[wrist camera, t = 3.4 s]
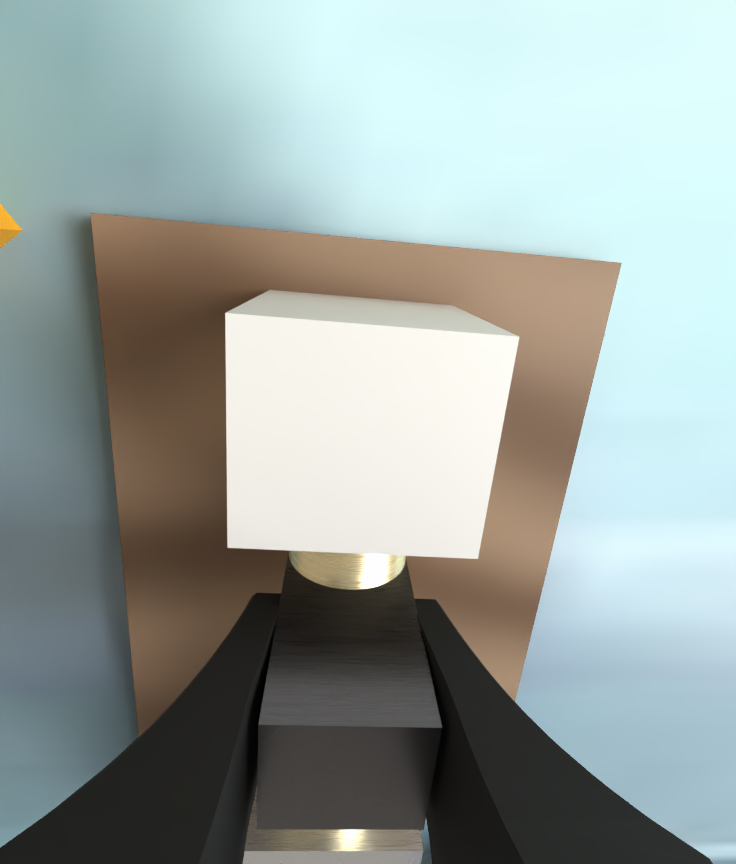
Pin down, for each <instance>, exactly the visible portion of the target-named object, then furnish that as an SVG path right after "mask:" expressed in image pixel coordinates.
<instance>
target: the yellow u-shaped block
mask: <svg viewBox="0 0 736 864" xmlns="http://www.w3.org/2000/svg"><path fill="white" fill-rule="evenodd" d="M21 231H22V229H21V228H20V227H19V226H18V224H17V223H16V222H15V221H14V220H13V219H12V217H11V216H10V215H9V214H8V213H7V211H6V210H5V209H4V208H3V207H2V205H1V204H0V248H1V247H2V246H3V245H5V244H6V243H7V242H8V241H10V240H11V239H12V238H14V237H15V236H16V235H17V234H19V233H20V232H21Z"/></svg>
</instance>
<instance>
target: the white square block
mask: <svg viewBox="0 0 736 864" xmlns="http://www.w3.org/2000/svg"><path fill="white" fill-rule="evenodd" d="M225 338H226V446H227V548H244V549H266V550H288V551H311V552H333V553H355V554H377V555H400V556H422V557H444V558H467V559H478V556H479V550H480V545H481V540H482V534H483V529H484V524H485V518H486V513H487V508H488V502H489V497H490V492H491V486H492V481H493V476H494V470H495V465H496V460H497V454H498V449H499V443H500V438H501V433H502V427H503V422H504V417H505V411H506V406H507V401H508V395H509V390H510V385H511V379H512V374H513V369H514V363H515V358H516V353H517V347H518V342H519V336H517V335H515V334H513V333H510V332H508V331H506V330H504V329H502V328H500V327H498V326H495V325H493V324H491V323H489V322H487V321H485V320H483V319H480V318H478V317H476V316H474V315H472V314H470V313H468V312H466V311H463V310H461V309H459V308H457V307H455V306H453V305H443V304H431V303H419V302H407V301H396V300H384V299H372V298H360V297H349V296H337V295H325V294H313V293H301V292H290V291H278V290H268V291H267V292H265V293H263V294H261V295H259V296H257V297H255V298H253V299H251V300H249V301H247V302H245V303H243V304H242V305H240V306H238V307H236V308H234V309H232V310H230V311H228V312H226V313H225Z"/></svg>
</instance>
